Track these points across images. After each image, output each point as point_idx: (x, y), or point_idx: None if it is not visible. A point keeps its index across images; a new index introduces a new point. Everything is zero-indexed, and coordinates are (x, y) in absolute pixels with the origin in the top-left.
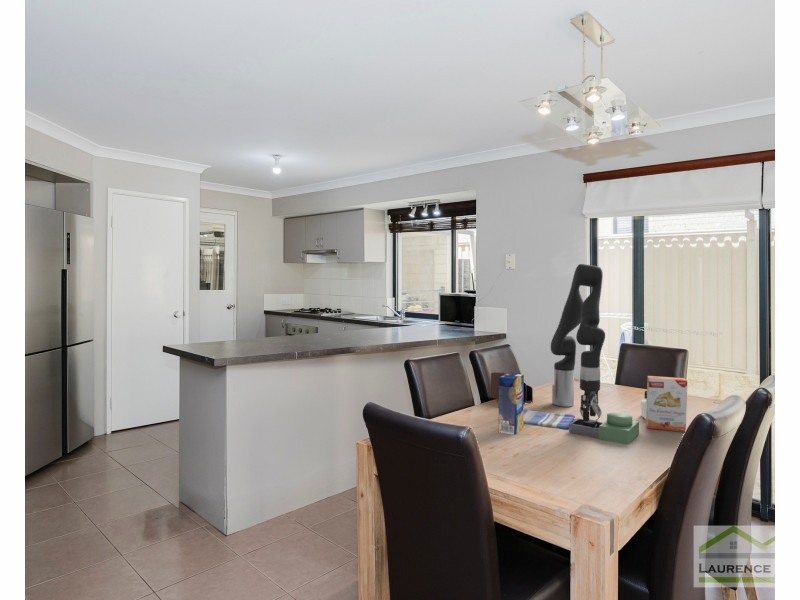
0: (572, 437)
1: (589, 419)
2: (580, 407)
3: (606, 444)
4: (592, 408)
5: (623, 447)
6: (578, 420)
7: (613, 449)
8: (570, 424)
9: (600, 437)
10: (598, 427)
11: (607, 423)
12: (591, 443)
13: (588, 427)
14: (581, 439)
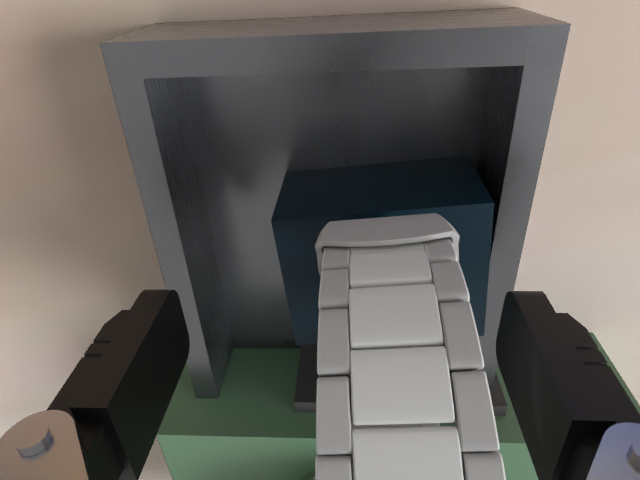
0: (23, 134)
1: (482, 247)
2: (318, 304)
3: None
4: (544, 431)
5: (145, 467)
6: (486, 61)
7: None
8: (110, 65)
9: None
10: None
11: (314, 467)
12: (30, 318)
13: None
14: (49, 226)
